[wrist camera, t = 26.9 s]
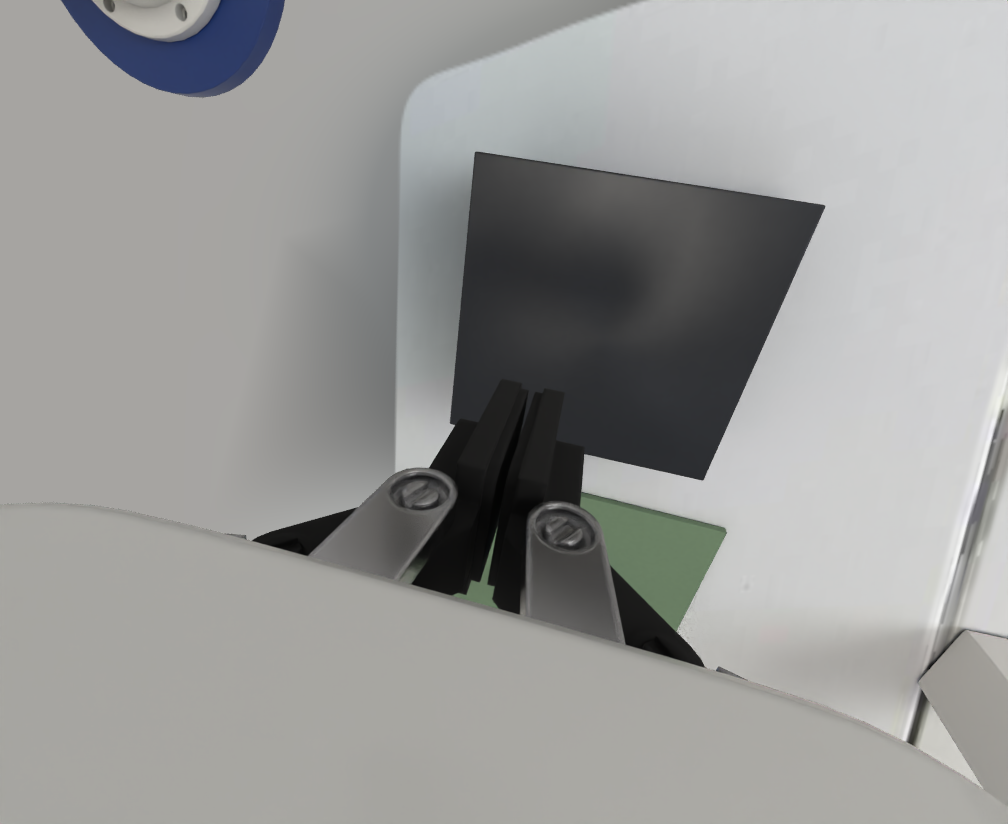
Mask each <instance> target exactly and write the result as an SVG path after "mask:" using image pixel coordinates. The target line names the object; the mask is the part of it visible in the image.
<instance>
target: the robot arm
mask: <svg viewBox="0 0 1008 824" xmlns="http://www.w3.org/2000/svg"><path fill="white" fill-rule="evenodd" d="M92 1H93V2H94V3H95V4H96V5H97V6H98V7H99V8H100V9H101V10H102V12H103V13H104V14H106V15H107V16H108V17H109V18H111V19H112V20H113V21H115V22H116V23H117V24H119V25H120V26H121V27H123V28H125V29H127V30H129V31H131V32H133V33H135V34H137V35H140V36H143V37H146V38H149V39H152V40H156V41H164V42H175V41H181V40H185V39H187V38H189V37H191V36H193V35H195V34H197V33H198V32H199V31H200V30H201V29H202V28H203V27H204V26H205V25H206V24H208V22H209V21H210V19H211V18H212V16H213V14H214V13H215V11H216V10H217V8H218V6H219V3H220V0H92ZM528 394H529V390H526V389H522V383H520V382H515V381H510V380H506V379H501V381H500V382H499V384H498V386H497V388H496V390H495V392H494V394H493V396H492V397H491V399H490V401H489V403H488V405H487V407H486V409H485V411H484V413H483V414H482V416H481V418H480V420H479V422H475V421H471V420H466V419H462V418H461V419H459V421H458V422H457V424H456V425H455V427H454V428H453V430H452V432H451V433H450V435H449V437H448V438H447V440H446V441H445V443H444V445H443V446H442V448H441V449H440V451H439V453H438V454H437V456H436V458H435V459H434V461H433V462H432V464H431V466H430V467H429V468H411V469H405V470H402V471H400V472H397V473H395V474H394V475H392V476H391V477H390V478H388V479H387V480H386V481H385V482H384V483H383V484H382V485H381V486H380V487H379V488H378V489H377V490H376V491H375V492H374V493H373V494H372V495H371V496H370V497H369V498H367V499H366V500H365V501H364V502H363V503H362V504H361V505H360V506H359V507H357V508H354V509H350V510H346V511H343V512H339V513H336V514H332V515H329V516H325V517H322V518H318V519H315V520H311V521H307V522H304V523H300V524H297V525H293V526H290V527H286V528H282V529H279V530H275V531H272V532H269V533H266V534H264V535H261V536H259V537H257V538H255V539H254V540H252V541H250V540H247V539H246V535H235V534H223V533H219V532H215V531H212V530H208V529H204V528H200V527H196V526H192V525H188V524H184V523H180V522H175V521H171V520H166V519H162V518H158V517H154V516H149V515H145V514H140V513H136V512H132V511H127V510H121V509H114V508H108V507H101V506H95V505H83V504H66V503H25V504H24V503H23V504H4V505H0V824H1008V807H1007V806H1005V805H1004V804H1003V803H1001V802H1000V801H999V800H997V799H996V798H995V797H993V796H992V795H991V794H989V793H988V792H986V791H985V790H984V789H982V788H981V787H979V786H978V785H976V784H975V783H973V782H972V781H970V780H969V779H967V778H966V777H965V776H963V775H961V774H960V773H958V772H956V771H955V770H953V769H951V768H950V767H948V766H946V765H945V764H943V763H941V762H940V761H938V760H936V759H935V758H933V757H931V756H929V755H928V754H926V753H924V752H923V751H921V750H919V749H918V748H916V747H914V746H913V745H911V744H909V743H907V742H905V741H903V740H901V739H899V738H896V737H894V736H892V735H890V734H888V733H886V732H884V731H882V730H880V729H878V728H876V727H874V726H872V725H870V724H868V723H866V722H863V721H861V720H858V719H856V718H853V717H851V716H848V715H846V714H843V713H841V712H838V711H836V710H833V709H831V708H828V707H826V706H823V705H821V704H818V703H815V702H812V701H809V700H806V699H803V698H800V697H797V696H794V695H791V694H788V693H784V692H781V691H778V690H775V689H772V688H769V687H766V686H763V685H760V684H757V683H754V682H750V681H748V680H746V679H744V678H742V677H740V676H738V675H736V674H734V673H732V672H730V671H728V670H725V669H723V668H721V667H718V668H717V670H716V671H714V670H710V669H707V668H705V666H704V664H703V662H702V660H701V659H700V657H699V656H698V655H697V654H696V653H695V651H694V650H693V649H692V648H691V646H690V645H689V644H688V643H687V642H686V641H685V640H684V639H683V638H682V637H681V636H680V635H679V634H678V633H677V632H676V631H675V630H674V629H673V628H672V627H671V626H670V625H669V624H668V623H667V622H666V621H665V620H664V619H663V618H662V617H661V616H660V615H659V614H658V613H657V612H656V611H655V610H654V609H653V608H652V607H651V606H650V605H649V604H648V603H647V602H646V601H645V600H644V599H643V598H642V597H641V596H640V595H639V594H638V593H637V592H636V591H635V590H634V589H633V588H632V587H631V586H630V585H629V584H628V583H627V582H626V581H625V580H624V579H623V578H622V577H621V576H620V575H619V574H618V573H617V572H616V571H615V570H614V569H613V568H612V566H611V565H610V564H609V559H608V554H607V549H606V544H605V539H604V534H603V531H602V528H601V526H600V523H599V522H598V521H597V520H596V519H595V517H594V516H593V515H592V514H590V513H589V512H588V511H586V510H585V509H583V508H581V507H580V502H581V489H582V476H583V463H584V447H583V446H579V445H574V444H570V443H566V442H561V441H557V440H556V437H557V432H558V426H559V421H560V416H561V411H562V406H563V400H564V395H565V392H561V391H556V390H552V389H547V388H544V391H543V393H540V392H535V394H534V397H533V400H532V402H531V405H530V408H529V411H528V414H527V417H526V420H525V423H524V426H523V429H522V425H523V420H524V415H525V410H526V404H527V399H528ZM521 431H522V432H521ZM496 530H497V532H496ZM495 533H496V538H495V543H494V549H493V554H492V560H491V565H490V571H489V576H488V582H487V585H490V586H494V592H493V597H492V600H493V603H495V604H496V606H497V607H498V609H497V608H494V607H490V606H486V605H483V604H479V603H476V602H472V601H468V600H465V599H461V598H458V597H454V596H452V595H455V594H457V593H460V594H463V595H467V592H468V589H469V586H470V583H471V580H472V581H476V582H479V583H480V581H481V578H482V575H483V571H484V568H485V565H486V562H487V559H488V556H489V552H490V549H491V546H492V543H493V540H494V536H495Z"/></svg>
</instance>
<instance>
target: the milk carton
mask: <svg viewBox="0 0 1008 824" xmlns="http://www.w3.org/2000/svg"><path fill="white" fill-rule="evenodd" d="M918 683H919V685H920V687H921V689H922V691H923V692H924V694H925V695H926V697H927V699H928V700H929V702H930V703H931V705H932V707H933V708H934V710H935V711H936V713H937V715H938V716H939V718H940V720H941V721H942V723H943V724H944V726H945V728H946V729H947V731H948V732H949V734H950V736H951V737H952V739H953V741H954V742H955V744H956V745H957V747H958V749H959V750H960V752H961V753H962V755H963V757H964V758H965V760H966V761H967V763H968V765H969V766H970V768H971V770H972V771H973V773H974V774H975V776H976V778H977V779H978V781H979V782H980V784H981V786H982V787H983V789H984V790H985V791H986V792H988V793H989V794H991V795H992V796H993V797H995V798H996V799H997V800H999V801H1000V802H1001V803H1003V804H1004V805H1005V806H1007V807H1008V639H1005V638H1001V637H996V636H992V635H987V634H983V633H978V632H973V631H969V630H965V631H964V632H963V633H962V634H961V635H960V636H959V637H958V638H957V639H956V640H955V641H954V642H953V644H952V645H951V646H950V647H949V648H948V649H947V650H946V651H945V652H944V654H943V655H942V656H941V657H940V658H939V659H938V660H937V661H936V663H935V664H934V665H933V666H932V667H931V668H930V669H929V670H928V671H927V673H926V674H925V675H924V676H923V677H922V678H921V679H920V681H919V682H918Z"/></svg>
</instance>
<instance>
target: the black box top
mask: <svg viewBox="0 0 1008 824" xmlns="http://www.w3.org/2000/svg"><path fill="white" fill-rule="evenodd" d="M824 209H825V205H820V204H814V203H807V202H801V201H794V200H788V199H781V198H775V197H769V196H762V195H756V194H749V193H743V192H736V191H730V190H723V189H717V188H710V187H704V186H697V185H691V184H684V183H678V182H671V181H665V180H658V179H652V178H645V177H639V176H632V175H626V174H619V173H613V172H606V171H600V170H593V169H587V168H580V167H574V166H567V165H561V164H555V163H548V162H542V161H535V160H529V159H522V158H516V157H509V156H503V155H496V154H490V153H483V152H475V157H474V168H473V179H472V190H471V201H470V211H469V222H468V233H467V244H466V255H465V266H464V276H463V287H462V298H461V309H460V320H459V331H458V341H457V352H456V363H455V374H454V385H453V396H452V406H451V417H450V424H453V425H456V424H457V422H458V421H459V419H461V418H462V419H466V420H471V421H475V422H479V420H480V418H481V416H482V414H483V413H484V411H485V409H486V407H487V405H488V403H489V401H490V399H491V397H492V396H493V394H494V392H495V390H496V388H497V386H498V384H499V382H500V381H501V379H506V380H510V381H515V382H520V383H522V389H526V390H529V394H528V399H527V404H526V410H525V415H524V420H523V425H522V429H523V426H524V423H525V420H526V417H527V414H528V411H529V408H530V405H531V402H532V400H533V397H534V394H535V392H540V393H543V391H544V388H547V389H552V390H556V391H561V392H565V395H564V400H563V406H562V411H561V416H560V421H559V426H558V432H557V437H556V440H557V441H561V442H566V443H570V444H574V445H579V446H583V447H584V454H587V455H591V456H596V457H600V458H605V459H609V460H614V461H618V462H623V463H627V464H631V465H636V466H640V467H645V468H649V469H654V470H658V471H663V472H667V473H672V474H676V475H681V476H685V477H689V478H694V479H698V480H704V478H705V475H706V473H707V471H708V469H709V466H710V464H711V462H712V460H713V457H714V455H715V453H716V451H717V448H718V446H719V444H720V442H721V440H722V437H723V435H724V433H725V431H726V428H727V426H728V424H729V422H730V419H731V417H732V415H733V413H734V410H735V408H736V406H737V404H738V401H739V399H740V397H741V395H742V392H743V390H744V388H745V386H746V383H747V381H748V379H749V377H750V374H751V372H752V370H753V368H754V366H755V363H756V361H757V359H758V357H759V354H760V352H761V350H762V348H763V345H764V343H765V341H766V339H767V336H768V334H769V332H770V330H771V327H772V325H773V323H774V321H775V318H776V316H777V314H778V312H779V309H780V307H781V305H782V303H783V301H784V298H785V296H786V294H787V292H788V289H789V287H790V285H791V283H792V280H793V278H794V276H795V274H796V271H797V269H798V267H799V265H800V262H801V260H802V258H803V256H804V253H805V251H806V249H807V247H808V244H809V242H810V240H811V238H812V235H813V233H814V231H815V229H816V227H817V224H818V222H819V220H820V218H821V215H822V213H823V211H824ZM521 432H522V431H521Z"/></svg>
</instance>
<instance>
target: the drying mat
mask: <svg viewBox="0 0 1008 824" xmlns="http://www.w3.org/2000/svg"><path fill="white" fill-rule="evenodd" d="M580 507H581V508H583V509H585V510H586V511H588V512H589V513H590V514H592V515H593V516H594V517H595V519H596V520H597V521H598V522H599V523H600V526H601V528H602V531H603V534H604V539H605V544H606V549H607V554H608V559H609V564H610V565H611V566H612V568H613V569H614V570H615V571H616V572H617V573H618V574H619V575H620V576H621V577H622V578H623V579H624V580H625V581H626V582H627V583H628V584H629V585H630V586H631V587H632V588H633V589H634V590H635V591H636V592H637V593H638V594H639V595H640V596H641V597H642V598H643V599H644V600H645V601H646V602H647V603H648V604H649V605H650V606H651V607H652V608H653V609H654V610H655V611H656V612H657V613H658V614H659V615H660V616H661V617H662V618H663V619H664V620H665V621H666V622H667V623H668V624H669V625H670V626H671V627H672V628H673V629H674V630H675V631H677V629H678V627H679V625H680V623H681V621H682V619H683V617H684V615H685V613H686V611H687V609H688V607H689V605H690V604H691V602H692V600H693V598H694V596H695V594H696V592H697V590H698V588H699V586H700V584H701V582H702V580H703V578H704V576H705V574H706V572H707V571H708V569H709V567H710V565H711V563H712V561H713V559H714V557H715V555H716V553H717V551H718V549H719V547H720V545H721V543H722V541H723V539H724V538H725V536H726V534H727V532H726V529H725V528H722V527H718V526H714V525H710V524H706V523H702V522H698V521H694V520H690V519H686V518H682V517H678V516H674V515H670V514H666V513H662V512H658V511H654V510H650V509H646V508H642V507H638V506H634V505H630V504H626V503H622V502H618V501H614V500H610V499H606V498H602V497H598V496H594V495H590V494H586V493H582V492H581V502H580ZM496 532H497V530H496ZM495 538H496V533H495V536H494V540H493V543H492V546H491V549H490V552H489V556H488V559H487V562H486V565H485V568H484V571H483V575H482V578H481V581H480V583H479V582H476V581H472V580H471V583H470V586H469V589H468V592H467V595H463V594H460V593H457V594H455V595H452V596H454V597H458V598H461V599H465V600H468V601H472V602H476V603H479V604H483V605H486V606H490V607H494V608H497V609H498V607H497V606H496V604H495V603H493V600H492V597H493V592H494V586H490V585H487V582H488V576H489V571H490V565H491V560H492V554H493V549H494V543H495Z"/></svg>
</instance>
